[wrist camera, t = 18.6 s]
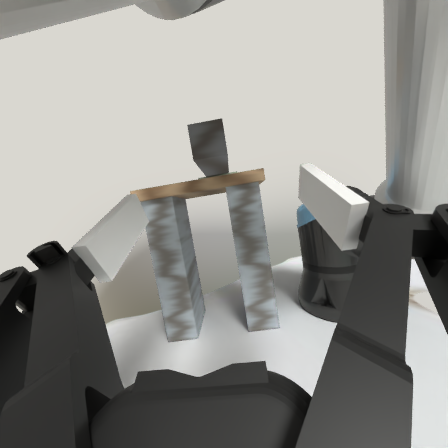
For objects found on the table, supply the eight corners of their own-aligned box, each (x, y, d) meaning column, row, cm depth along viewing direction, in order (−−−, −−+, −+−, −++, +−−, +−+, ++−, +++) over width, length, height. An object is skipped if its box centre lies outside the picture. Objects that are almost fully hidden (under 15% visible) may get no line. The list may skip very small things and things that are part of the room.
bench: (272, 298, 46) (254, 177, 44) (286, 330, 34) (263, 166, 32) (179, 311, 48) (156, 194, 45) (161, 346, 36) (129, 189, 33)
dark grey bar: (229, 185, 51) (227, 170, 51) (227, 154, 21) (221, 118, 21) (215, 187, 51) (212, 173, 51) (193, 160, 21) (187, 124, 21)
